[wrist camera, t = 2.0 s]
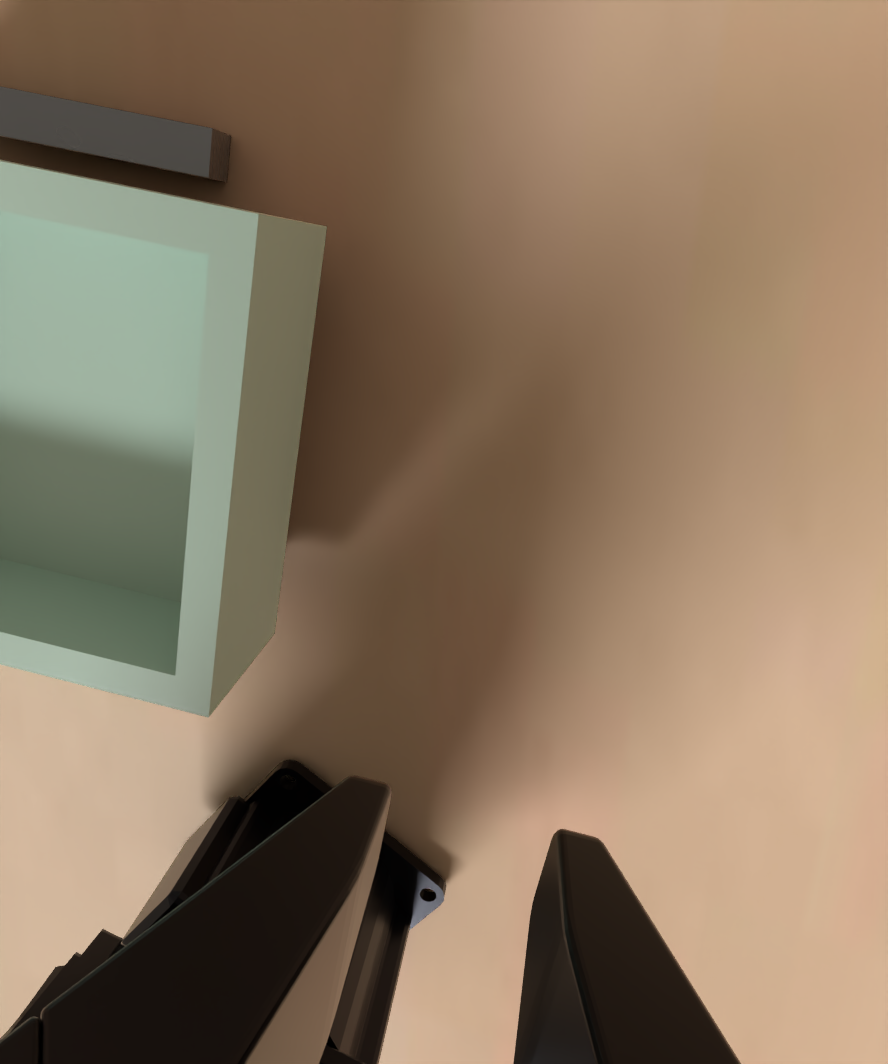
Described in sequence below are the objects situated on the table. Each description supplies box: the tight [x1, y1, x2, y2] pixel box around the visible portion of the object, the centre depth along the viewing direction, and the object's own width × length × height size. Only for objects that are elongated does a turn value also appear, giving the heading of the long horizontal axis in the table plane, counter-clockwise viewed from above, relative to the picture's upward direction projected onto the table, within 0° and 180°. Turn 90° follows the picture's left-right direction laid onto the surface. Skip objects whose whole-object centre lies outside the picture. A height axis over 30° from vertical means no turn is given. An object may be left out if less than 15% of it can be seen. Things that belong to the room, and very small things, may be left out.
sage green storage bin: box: [0, 160, 327, 717], centre depth 17 cm, size 10×10×5 cm
